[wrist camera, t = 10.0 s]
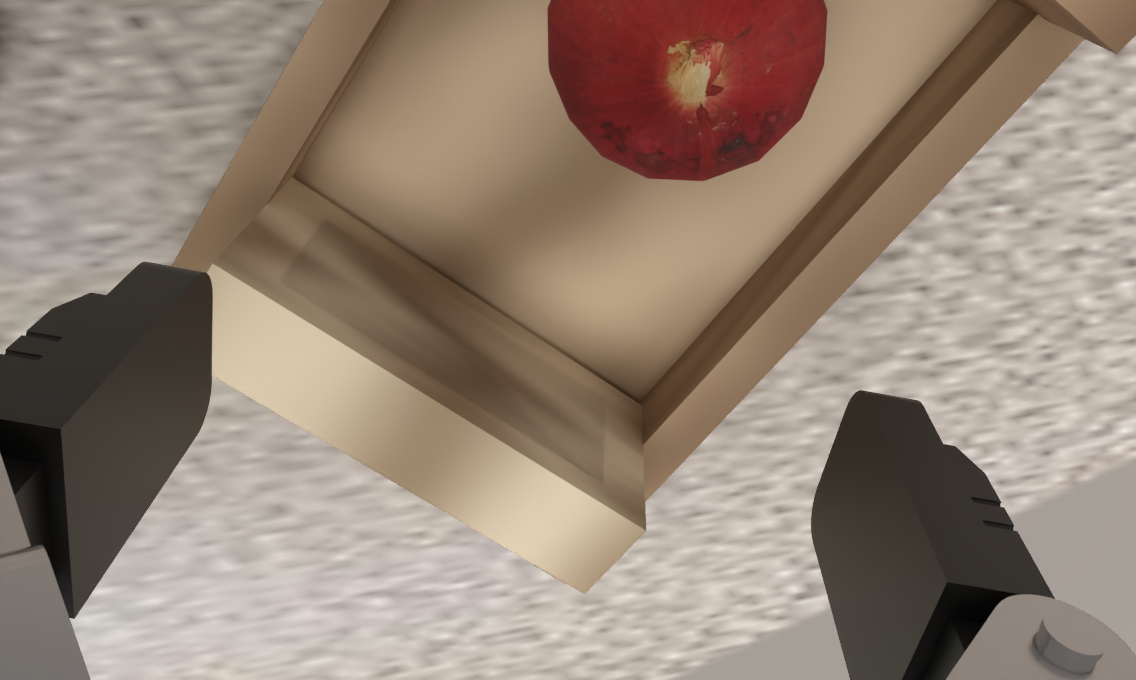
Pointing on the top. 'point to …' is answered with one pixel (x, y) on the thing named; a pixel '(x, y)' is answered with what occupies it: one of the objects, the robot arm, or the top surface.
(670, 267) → the vise base
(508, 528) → the jaw
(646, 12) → the onion
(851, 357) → the top surface
